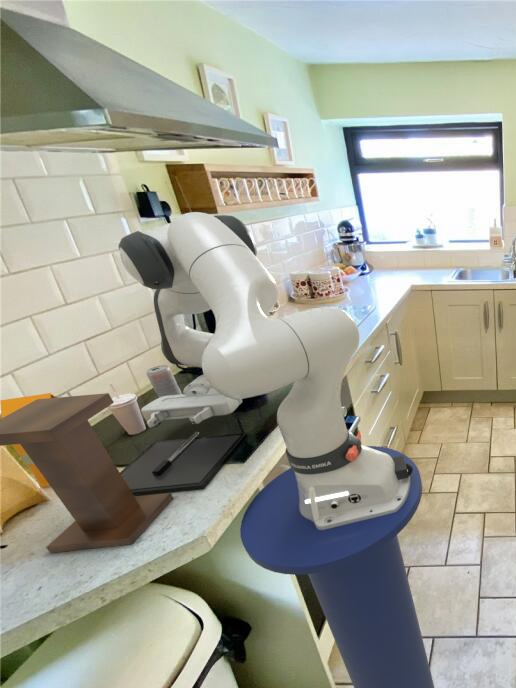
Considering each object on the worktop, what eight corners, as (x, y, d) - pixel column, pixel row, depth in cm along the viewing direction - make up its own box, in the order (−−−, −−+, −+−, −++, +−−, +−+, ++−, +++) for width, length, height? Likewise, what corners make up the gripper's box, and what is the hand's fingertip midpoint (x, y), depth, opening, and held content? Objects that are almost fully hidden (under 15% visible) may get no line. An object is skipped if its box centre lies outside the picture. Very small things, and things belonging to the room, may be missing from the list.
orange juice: (64, 466, 98) (13, 392, 89) (108, 458, 100) (63, 385, 91) (41, 487, 92) (-16, 409, 82) (89, 478, 94) (38, 401, 84)
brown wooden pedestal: (173, 498, 86) (114, 392, 75) (132, 544, 76) (56, 429, 64) (102, 505, 85) (31, 399, 74) (50, 553, 75) (-42, 438, 63)
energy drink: (179, 399, 126) (162, 363, 120) (190, 403, 124) (172, 366, 118) (160, 408, 122) (141, 371, 116) (170, 411, 120) (151, 374, 114)
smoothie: (145, 422, 115) (120, 376, 109) (157, 427, 112) (132, 381, 106) (117, 434, 110) (89, 387, 104) (129, 439, 107) (101, 392, 101)
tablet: (247, 436, 106) (246, 432, 106) (204, 489, 88) (202, 485, 88) (157, 444, 105) (155, 440, 104) (94, 500, 87) (91, 496, 86)
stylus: (201, 434, 106) (199, 430, 105) (160, 475, 92) (158, 471, 91) (195, 435, 106) (193, 431, 105) (154, 476, 91) (151, 471, 91)
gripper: (158, 387, 107) (118, 415, 95) (240, 380, 109) (212, 407, 96) (168, 408, 110) (131, 438, 98) (248, 401, 112) (222, 430, 99)
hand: (172, 423), depth 97 cm, fingers open, 8 cm apart
